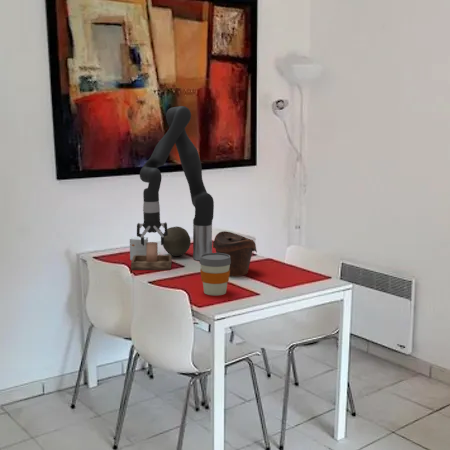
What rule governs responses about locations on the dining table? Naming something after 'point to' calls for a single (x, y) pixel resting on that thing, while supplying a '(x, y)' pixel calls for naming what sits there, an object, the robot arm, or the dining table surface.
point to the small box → (137, 246)
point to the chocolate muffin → (235, 251)
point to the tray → (151, 263)
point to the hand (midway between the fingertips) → (152, 245)
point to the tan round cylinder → (151, 252)
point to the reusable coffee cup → (215, 272)
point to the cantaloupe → (176, 241)
